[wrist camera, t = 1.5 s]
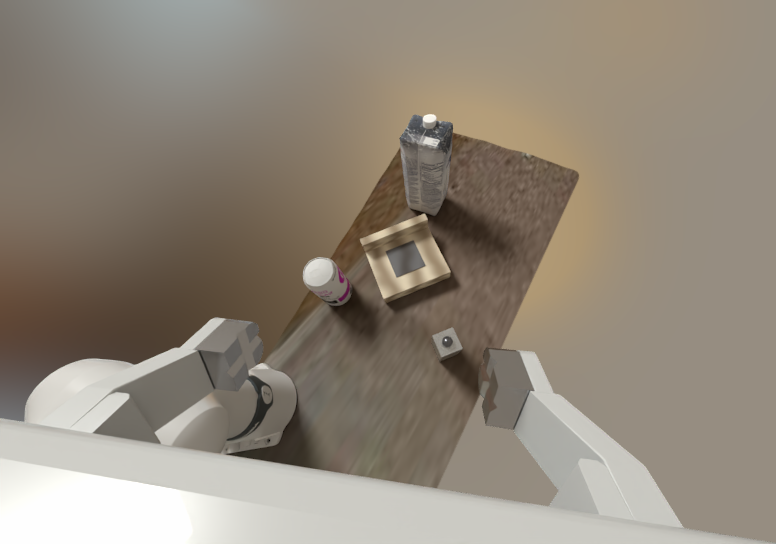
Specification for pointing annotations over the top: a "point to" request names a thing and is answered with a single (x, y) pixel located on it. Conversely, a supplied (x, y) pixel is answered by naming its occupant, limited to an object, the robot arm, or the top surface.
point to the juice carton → (426, 162)
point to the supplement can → (327, 281)
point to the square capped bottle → (446, 344)
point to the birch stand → (405, 258)
